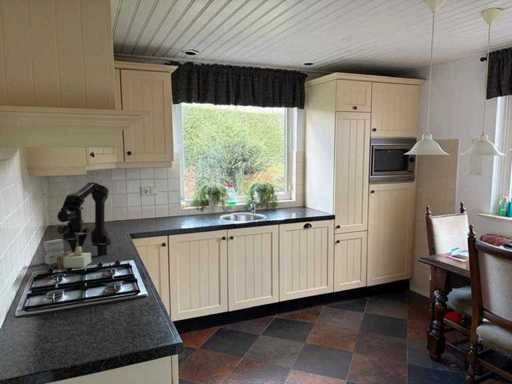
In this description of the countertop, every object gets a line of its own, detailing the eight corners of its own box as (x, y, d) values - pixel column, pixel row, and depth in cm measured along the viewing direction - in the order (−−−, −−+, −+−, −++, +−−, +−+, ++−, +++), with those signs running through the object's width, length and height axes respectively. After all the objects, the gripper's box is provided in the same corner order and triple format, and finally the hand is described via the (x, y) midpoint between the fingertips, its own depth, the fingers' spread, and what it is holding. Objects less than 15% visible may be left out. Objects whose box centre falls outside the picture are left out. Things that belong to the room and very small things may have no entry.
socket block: (71, 262, 200) (70, 253, 199) (91, 262, 200) (90, 252, 200) (63, 267, 190) (62, 258, 189) (84, 267, 190) (83, 257, 190)
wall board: (68, 264, 201) (67, 251, 201) (130, 261, 203) (130, 248, 203) (57, 271, 188) (56, 257, 188) (124, 268, 190) (123, 254, 190)
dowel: (76, 262, 197) (75, 246, 196) (83, 261, 197) (82, 246, 196) (73, 263, 193) (72, 248, 193) (80, 263, 193) (80, 248, 193)
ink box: (61, 259, 212) (59, 238, 211) (65, 261, 209) (63, 239, 208) (44, 263, 206) (42, 241, 205) (48, 264, 202) (46, 242, 202)
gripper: (66, 217, 202) (68, 246, 203) (50, 222, 183) (52, 254, 185) (88, 216, 203) (90, 245, 204) (74, 221, 184) (76, 253, 185)
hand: (77, 249), depth 194 cm, fingers open, 9 cm apart
